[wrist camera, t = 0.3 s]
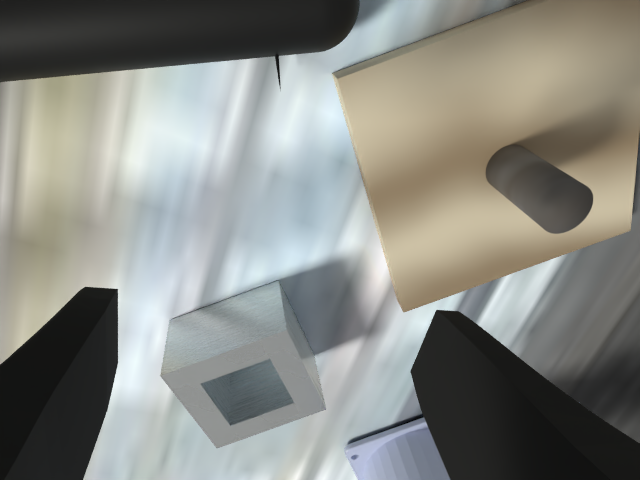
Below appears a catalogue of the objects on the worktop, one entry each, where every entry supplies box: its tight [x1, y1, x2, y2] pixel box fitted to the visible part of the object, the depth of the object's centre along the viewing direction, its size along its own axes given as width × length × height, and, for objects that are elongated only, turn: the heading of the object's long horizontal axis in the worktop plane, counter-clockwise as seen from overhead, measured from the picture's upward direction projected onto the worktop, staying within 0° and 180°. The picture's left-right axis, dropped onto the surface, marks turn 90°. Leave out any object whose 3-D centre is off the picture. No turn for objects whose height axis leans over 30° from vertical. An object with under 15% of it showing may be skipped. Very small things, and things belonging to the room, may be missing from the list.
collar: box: [160, 280, 326, 448], centre depth 22 cm, size 6×6×4 cm
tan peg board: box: [332, 0, 640, 312], centre depth 18 cm, size 12×12×5 cm
